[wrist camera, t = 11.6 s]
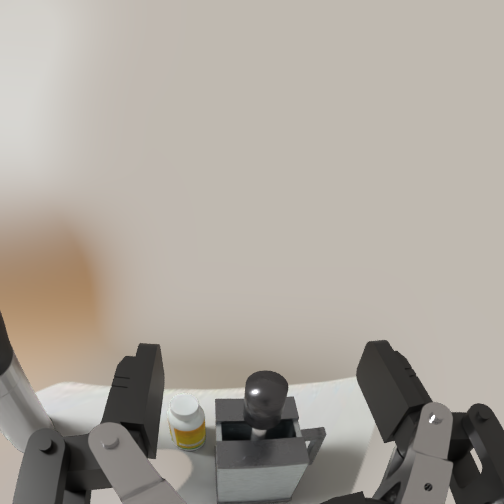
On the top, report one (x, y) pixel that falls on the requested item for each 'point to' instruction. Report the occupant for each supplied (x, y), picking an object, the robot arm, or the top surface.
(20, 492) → the robot arm
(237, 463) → the grey box
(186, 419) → the supplement bottle
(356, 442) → the top surface
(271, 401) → the dark grey knob handle
